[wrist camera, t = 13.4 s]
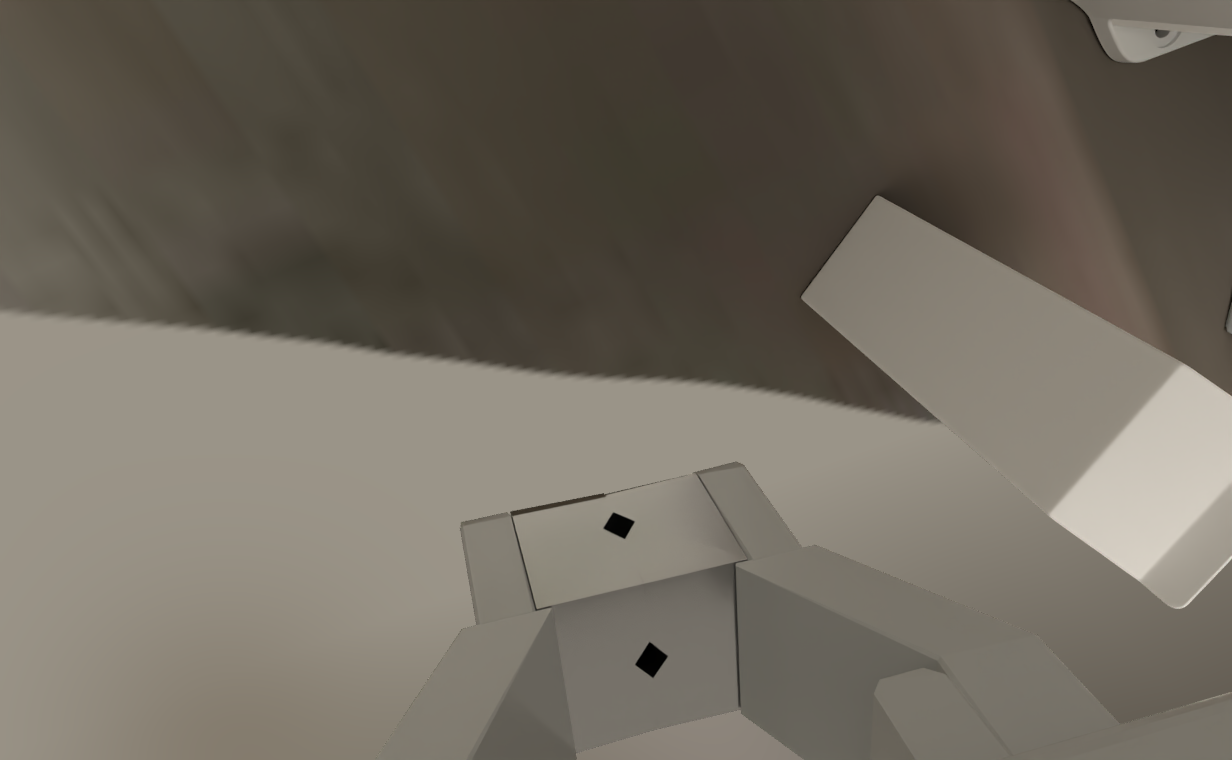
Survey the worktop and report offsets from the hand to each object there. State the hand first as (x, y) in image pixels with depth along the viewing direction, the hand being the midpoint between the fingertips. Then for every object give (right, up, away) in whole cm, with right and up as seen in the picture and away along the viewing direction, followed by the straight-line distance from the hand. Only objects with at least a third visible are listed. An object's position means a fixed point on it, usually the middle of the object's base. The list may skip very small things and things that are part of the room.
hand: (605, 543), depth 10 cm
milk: (+13, +7, +36) cm, 39 cm away
